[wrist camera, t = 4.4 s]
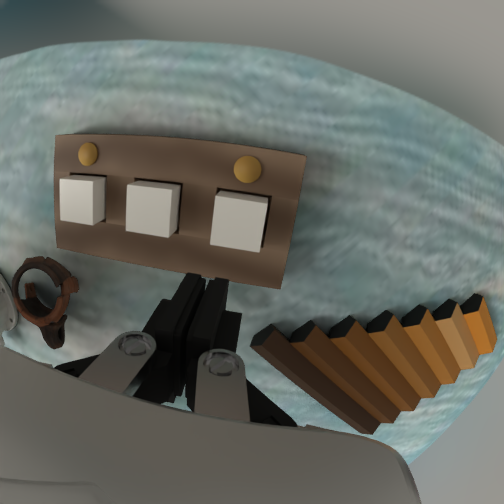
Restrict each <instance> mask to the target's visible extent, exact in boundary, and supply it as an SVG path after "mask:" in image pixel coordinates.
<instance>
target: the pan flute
mask: <svg viewBox="0 0 504 504" xmlns="http://www.w3.org/2000/svg"><path fill="white" fill-rule="evenodd" d="M461 309H462V311H461ZM461 309H460V307H459V305H458V303H457V302H455V301H453V300H451V299H448V300H447V301H445V302H444V303H443V304H442V305H441V306H439V307H438V308H437V309H436V310H435V311H433V314H434V319H435V320H434V319H433V317H432V315H431V313H430V312H429V310H428V308H426V307H423V306H421V305H418V306H416V307H415V308H414V309H413V310H411V311H410V312H409V313H407V314H406V315H405V316H404V317H402V322H403V327H402V325H401V324H400V323H399V321H398V320H397V318H396V317H395V316H394V314H392V313H390V312H389V311H387V310H385V311H384V312H382V313H381V314H380V315H378V316H377V317H376V318H374V319H373V320H372V321H370V322H369V323H368V333H367V332H366V331H365V330H364V329H363V328H362V326H361V325H360V324H359V323H358V322H357V321H356V320H355V319H354V318H353V317H351V316H350V315H349V316H348V317H346V318H345V319H343V320H342V321H341V322H339V323H338V324H336V325H335V326H333V327H332V328H331V332H330V339H329V338H328V337H327V336H326V335H325V334H324V333H323V332H322V331H321V330H320V329H319V328H318V327H317V326H316V325H315V324H314V323H313V322H312V321H311V320H310V321H308V322H307V323H305V324H304V325H303V326H301V327H300V328H298V329H297V330H295V331H294V332H293V333H292V336H291V340H290V341H289V340H288V339H287V338H286V337H285V336H284V335H283V334H282V333H281V332H280V331H279V330H277V329H276V328H275V327H274V326H273V325H272V324H270V325H268V326H267V327H266V328H264V329H263V330H261V331H260V332H258V333H257V334H255V335H254V337H253V339H252V342H251V344H250V347H251V348H252V349H254V350H255V351H256V352H257V353H258V354H259V355H261V356H262V357H263V358H264V359H265V360H267V361H268V362H269V363H270V364H271V365H273V366H274V367H275V368H276V369H277V370H279V371H280V372H281V373H282V374H284V375H285V376H286V377H287V378H289V379H290V380H291V381H292V382H293V383H295V384H296V385H297V386H299V387H300V388H301V389H302V390H304V391H305V392H306V393H307V394H309V395H310V396H311V397H313V398H314V399H315V400H316V401H318V402H319V403H320V404H322V405H323V406H324V407H326V408H327V409H328V410H330V411H331V412H332V413H334V414H335V415H336V416H338V417H339V418H340V419H342V420H343V421H344V422H346V423H347V424H349V425H350V426H351V427H353V428H354V429H355V430H357V431H358V432H360V433H362V434H371V435H373V433H374V432H375V430H376V429H377V428H378V426H379V425H380V423H394V421H395V420H396V418H397V417H398V415H399V414H400V412H401V411H414V410H415V408H416V406H417V405H418V403H419V401H420V400H421V398H434V397H435V395H436V394H437V392H438V390H439V388H440V386H441V385H442V384H452V383H455V381H456V379H457V377H458V375H459V373H460V371H461V370H464V369H471V368H474V367H475V364H476V362H477V360H478V357H479V355H481V354H486V353H491V352H493V350H494V347H495V344H496V341H497V337H496V333H495V330H494V327H493V323H492V320H491V317H490V314H489V311H488V308H487V305H486V302H485V300H484V297H483V296H481V295H478V294H475V293H474V294H473V295H472V296H471V297H470V298H469V299H468V300H467V301H465V302H464V303H463V304H462V305H461Z"/></svg>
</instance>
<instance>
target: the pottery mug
mask: <svg viewBox="0 0 504 504" xmlns="http://www.w3.org/2000/svg"><path fill="white" fill-rule="evenodd" d="M33 268H35V269H40V270H42V271H44V272H45V273H47V274H48V275H49V276H50V277H51V279H52V280H53V282H54V284H55V286H56V288H57V287H58V286H59V285H60V286H61V296H60V297H57V301H56V305H55V308H54V309H50V308H48V307H46V306H45V305H44V304H43V303H41V302H40V300H39V299H38V297H37V295H36V292H35V288H34V283H33V282H32V283H26V284H25V295H26V299H25V300H23V299H20V297H19V293H18V286H19V281H20V278H21V276H22V275H23V273H25V272H26V271H27V270H29V269H33ZM78 290H79V285H78V280H77V278H75V277H74V276H72V277H71V273H70V272H69V271H68V270H67V269H66V268H65V267H63V266H62V265H61V264H60V263H58V262H57V261H55V260H53V259H51V258H49V257H47V258H46V259H44V257H43V256H38V257H33V258H26V260H25V261H24V263H23V264H22V266H21V267H20V268H19V269H18V270H17V272H16V273H15V275H14V277H13V280H12V296H13V300H14V303H15V305H16V308H17V309H18V311H19V312H20V313H21V315H22V316H23V317H24V318H25V319H27V320H28V321H30V322H32V323H33V324H35V325H37V326H38V327H39V328H40V330H41V333H42V335H43V338H44V340H45V341H46V343H47V345H48V346H49V347H50V348H52V349H57V348H60V347H62V346H63V344H64V340H65V330H64V324H65V321H66V319H67V315H66V314H64V312H65V310H66V308H67V306H68V303H69V298H70V293H73V292H76V293H77V292H78ZM63 314H64V315H63Z"/></svg>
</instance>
